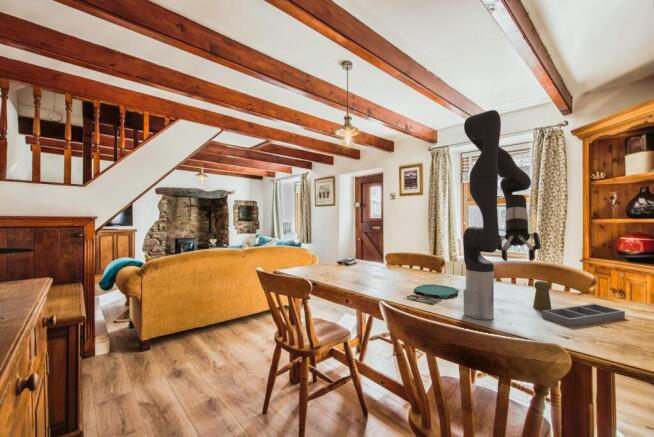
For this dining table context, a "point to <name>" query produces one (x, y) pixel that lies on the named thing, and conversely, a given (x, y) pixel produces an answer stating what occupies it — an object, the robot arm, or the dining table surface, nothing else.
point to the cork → (542, 296)
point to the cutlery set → (433, 292)
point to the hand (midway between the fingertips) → (518, 260)
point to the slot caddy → (583, 314)
